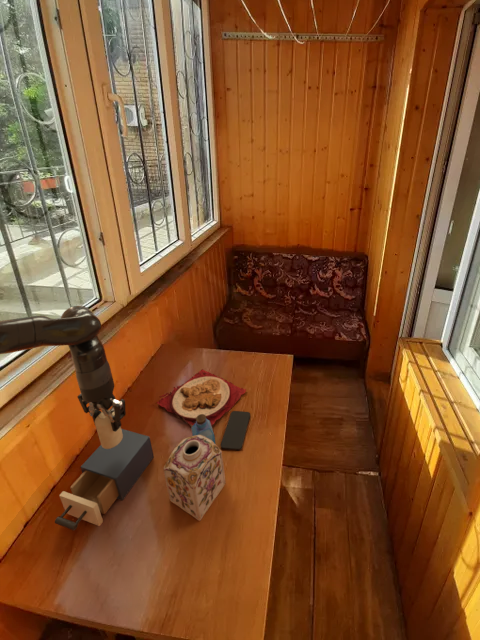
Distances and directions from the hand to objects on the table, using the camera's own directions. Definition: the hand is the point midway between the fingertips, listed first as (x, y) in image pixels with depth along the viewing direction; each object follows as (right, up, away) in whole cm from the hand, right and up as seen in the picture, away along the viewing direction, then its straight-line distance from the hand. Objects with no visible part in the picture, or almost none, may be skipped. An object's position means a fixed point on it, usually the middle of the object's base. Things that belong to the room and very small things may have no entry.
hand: (108, 426), depth 87 cm
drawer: (-4, -22, 0) cm, 22 cm away
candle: (0, -5, +2) cm, 6 cm away
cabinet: (-1, -19, +9) cm, 22 cm away
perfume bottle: (+22, -16, +18) cm, 33 cm away
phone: (+32, -14, +23) cm, 42 cm away
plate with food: (+17, -9, +37) cm, 41 cm away
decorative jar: (+24, -22, +4) cm, 33 cm away
